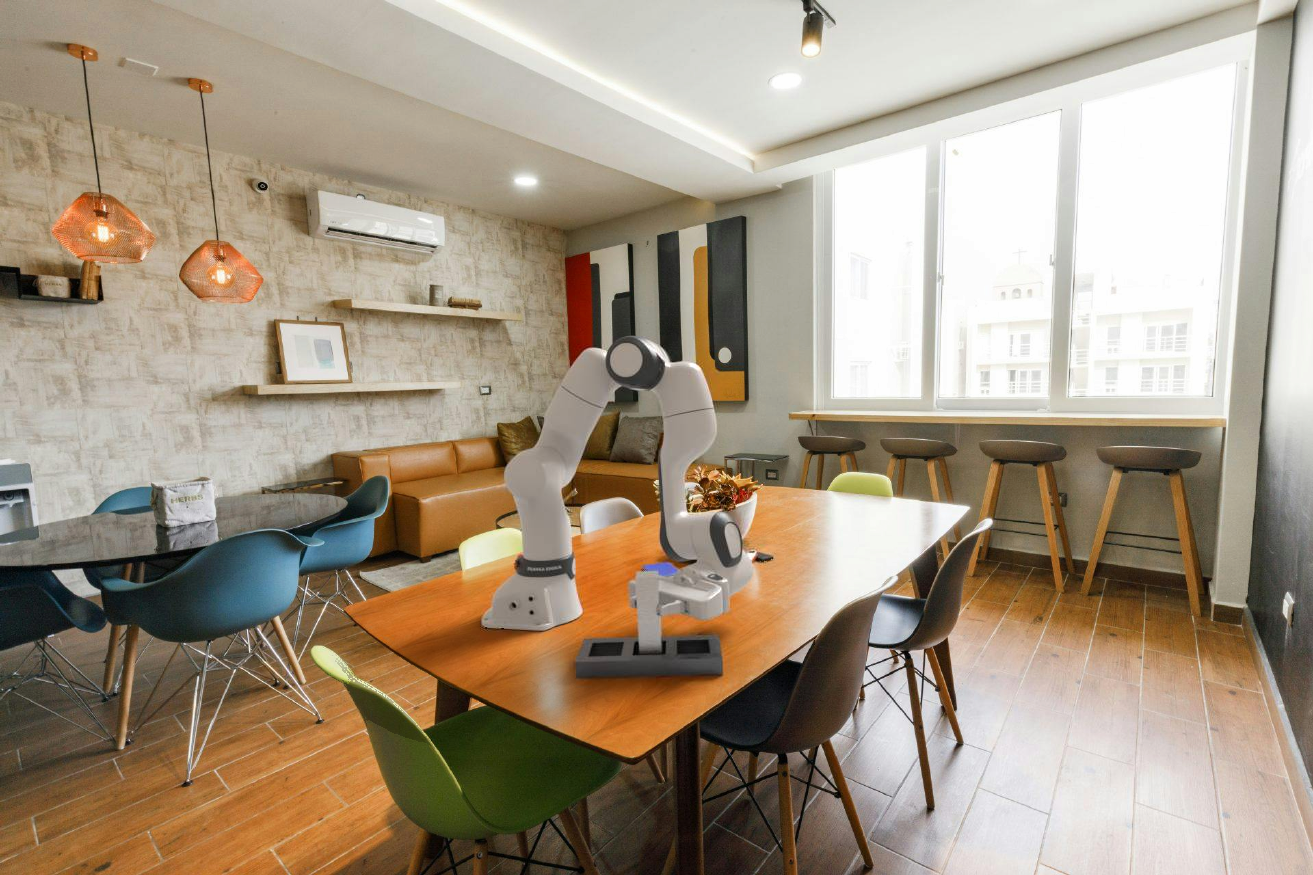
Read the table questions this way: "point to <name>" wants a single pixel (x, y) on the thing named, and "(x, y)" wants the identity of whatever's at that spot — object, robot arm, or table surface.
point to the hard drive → (662, 569)
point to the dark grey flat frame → (649, 657)
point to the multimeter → (759, 556)
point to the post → (648, 612)
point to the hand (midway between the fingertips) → (645, 607)
